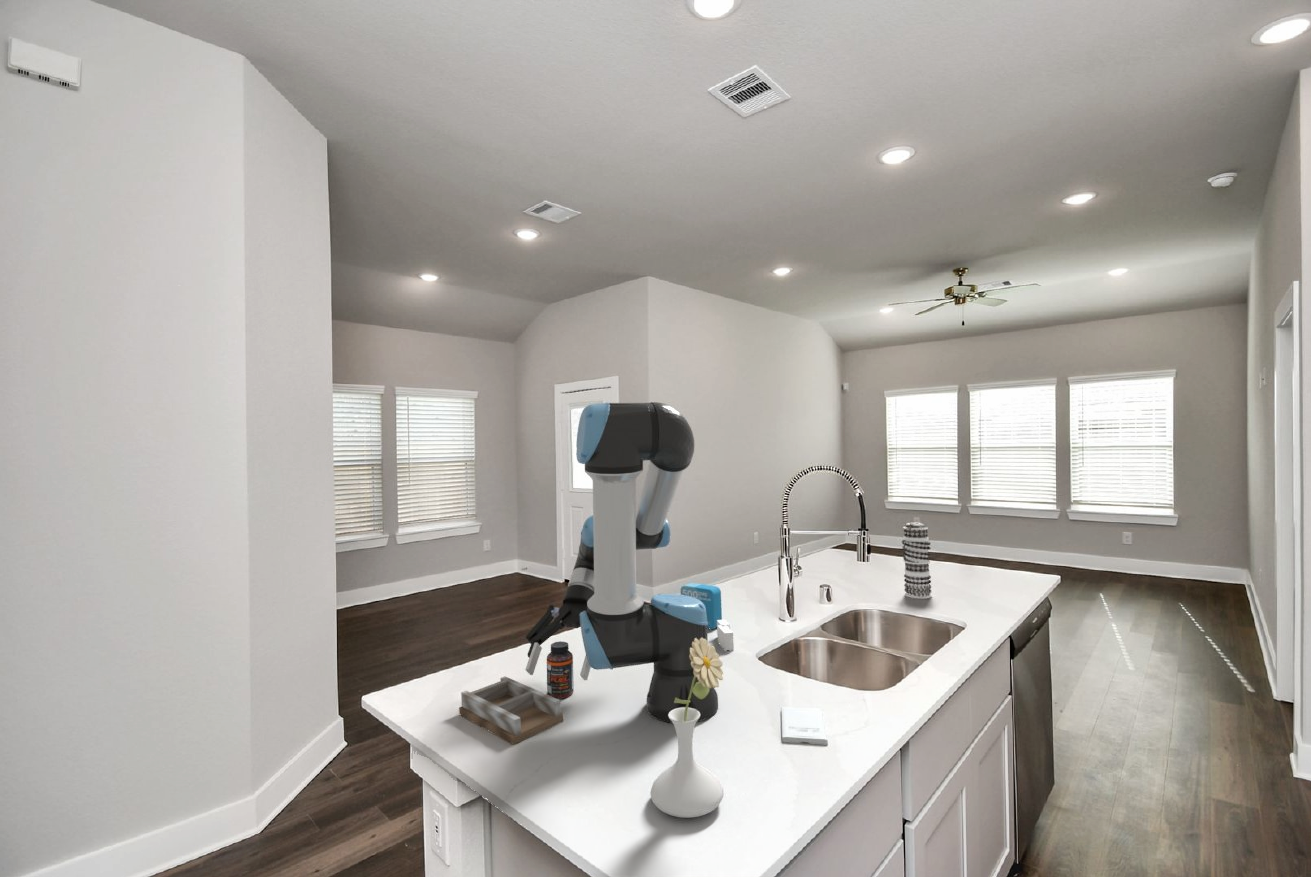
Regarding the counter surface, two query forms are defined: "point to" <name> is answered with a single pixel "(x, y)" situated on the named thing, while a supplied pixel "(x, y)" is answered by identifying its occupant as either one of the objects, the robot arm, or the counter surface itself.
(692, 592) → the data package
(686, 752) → the flower in vase
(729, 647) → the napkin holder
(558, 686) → the supplement bottle
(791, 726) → the external hard drive
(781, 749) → the counter surface
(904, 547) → the decorative candle
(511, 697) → the wooden divided tray
